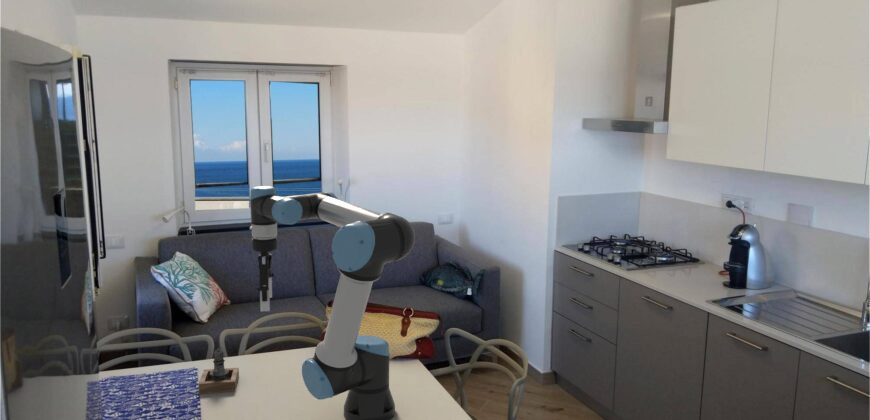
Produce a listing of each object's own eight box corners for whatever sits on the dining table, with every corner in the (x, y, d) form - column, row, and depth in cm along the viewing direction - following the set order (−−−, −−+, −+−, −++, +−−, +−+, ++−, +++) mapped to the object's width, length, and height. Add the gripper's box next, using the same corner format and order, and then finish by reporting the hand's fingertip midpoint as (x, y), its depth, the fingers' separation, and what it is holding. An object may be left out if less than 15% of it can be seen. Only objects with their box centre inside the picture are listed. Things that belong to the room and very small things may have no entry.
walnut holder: (235, 391, 209) (235, 381, 208) (199, 393, 207) (198, 383, 206) (238, 376, 220) (238, 367, 219) (204, 379, 218) (203, 369, 217)
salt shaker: (223, 387, 210) (222, 351, 208) (206, 385, 211) (205, 349, 209) (232, 379, 216) (231, 344, 214) (215, 378, 217) (214, 343, 215)
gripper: (254, 229, 213) (257, 292, 216) (248, 246, 188) (250, 317, 192) (278, 228, 214) (280, 291, 217) (275, 245, 190) (277, 316, 193)
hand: (266, 304), depth 205 cm, fingers open, 13 cm apart
